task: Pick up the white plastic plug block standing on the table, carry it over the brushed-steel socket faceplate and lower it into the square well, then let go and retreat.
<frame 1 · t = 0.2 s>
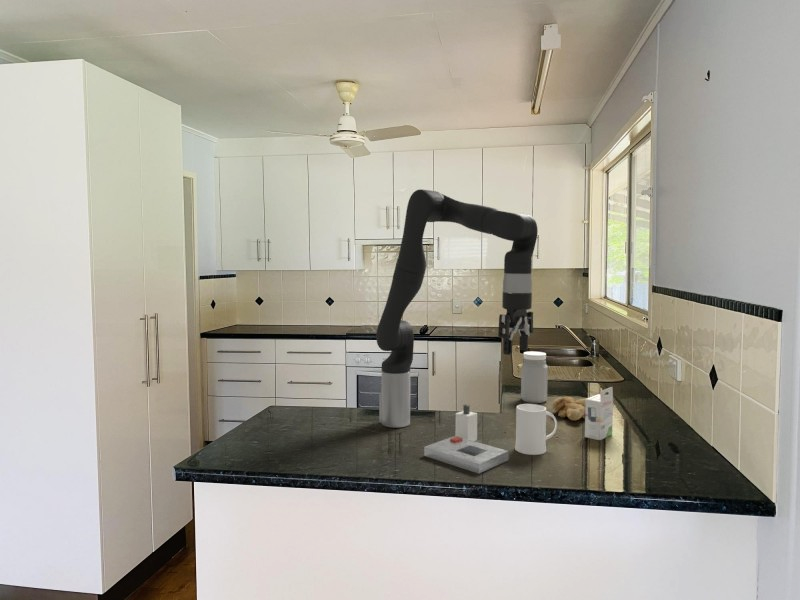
hand: (515, 352, 146), 28 cm above the counter, fingers open, 8 cm apart
mug: (536, 450, 154), on the counter
plug: (466, 440, 162), on the counter
ink box: (598, 436, 166), on the counter
ginger root: (570, 417, 187), on the counter
jar: (533, 400, 208), on the counter
socket plate: (465, 458, 147), on the counter
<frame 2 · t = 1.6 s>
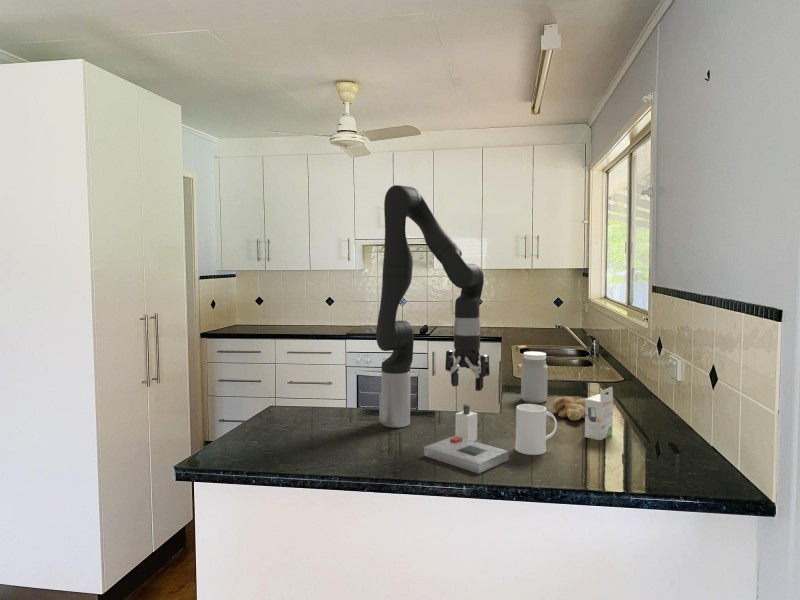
hand: (466, 388, 161), 15 cm above the counter, fingers open, 8 cm apart
nothing on the counter moved.
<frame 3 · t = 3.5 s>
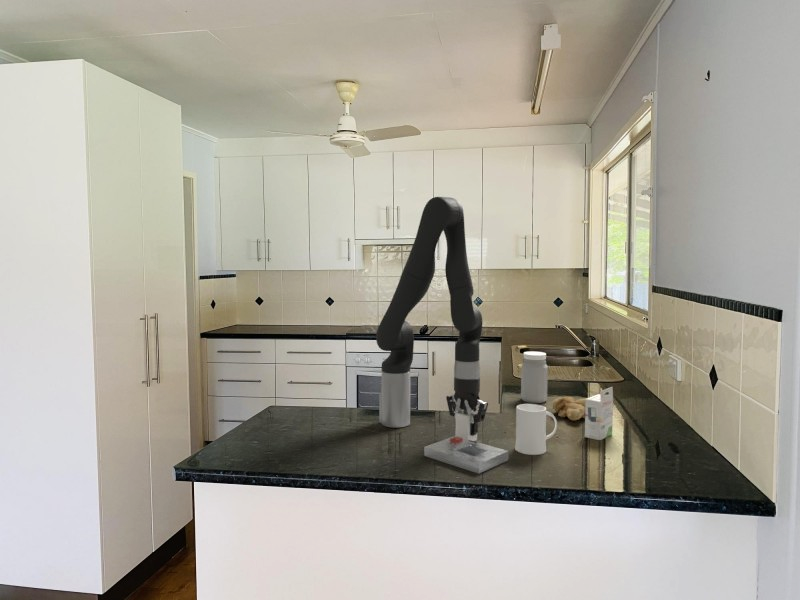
hand: (466, 432, 162), 2 cm above the counter, fingers closed on plug, 4 cm apart
plug: (466, 440, 162), on the counter, touching gripper
everything else where it was.
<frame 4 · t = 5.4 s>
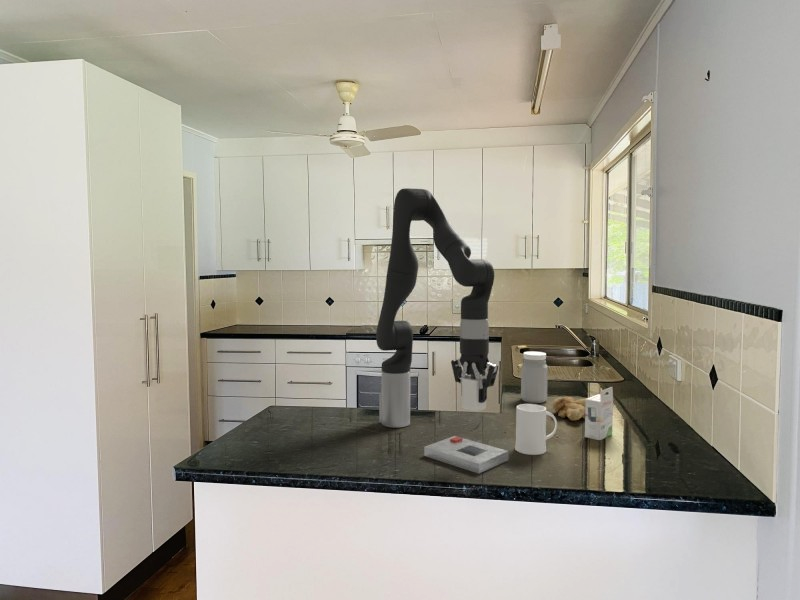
hand: (474, 400, 145), 16 cm above the counter, fingers closed on plug, 4 cm apart
plug: (474, 408, 145), point 14 cm above the counter, touching gripper
everything else where it was.
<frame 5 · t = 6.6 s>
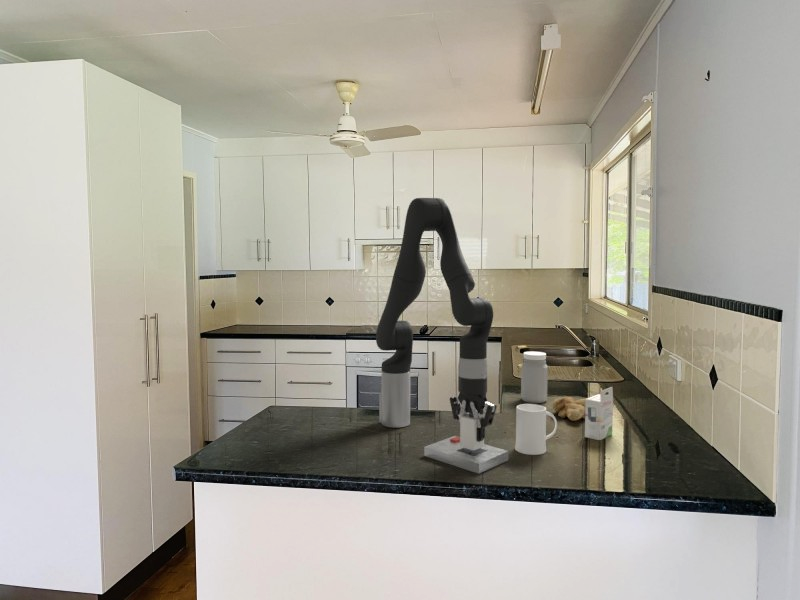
hand: (472, 438, 145), 6 cm above the counter, fingers closed on plug, 4 cm apart
plug: (472, 446, 146), point 4 cm above the counter, touching gripper
everything else where it was.
when the fingers open (3 cm above the counter, at t = 7.5 s): plug stays where it is, resting in socket plate.
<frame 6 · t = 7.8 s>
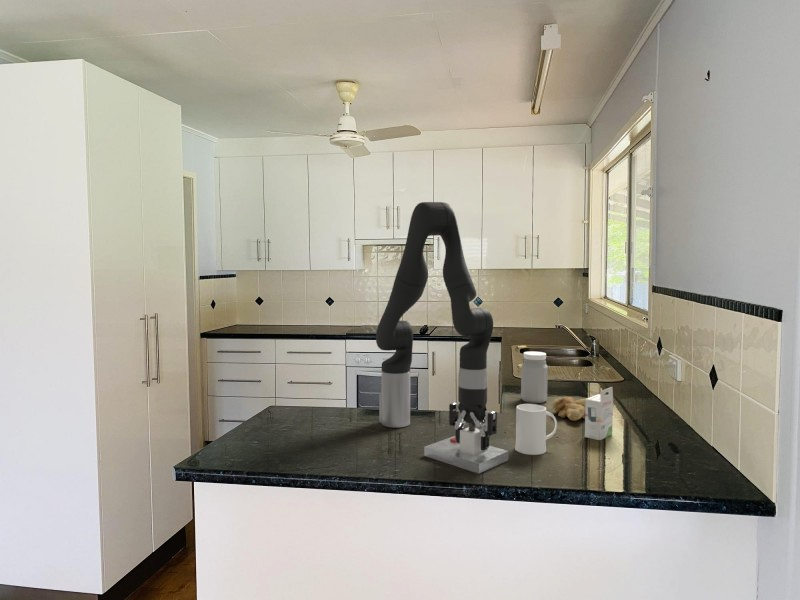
hand: (472, 446, 146), 4 cm above the counter, fingers open, 7 cm apart
plug: (471, 459, 146), resting in socket plate
everything else where it was.
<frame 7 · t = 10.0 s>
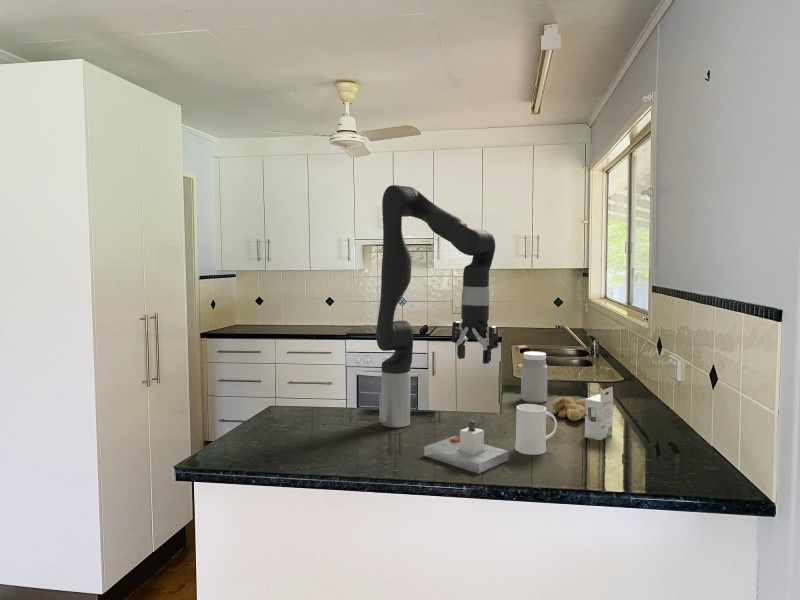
hand: (473, 361, 153), 25 cm above the counter, fingers open, 8 cm apart
nothing on the counter moved.
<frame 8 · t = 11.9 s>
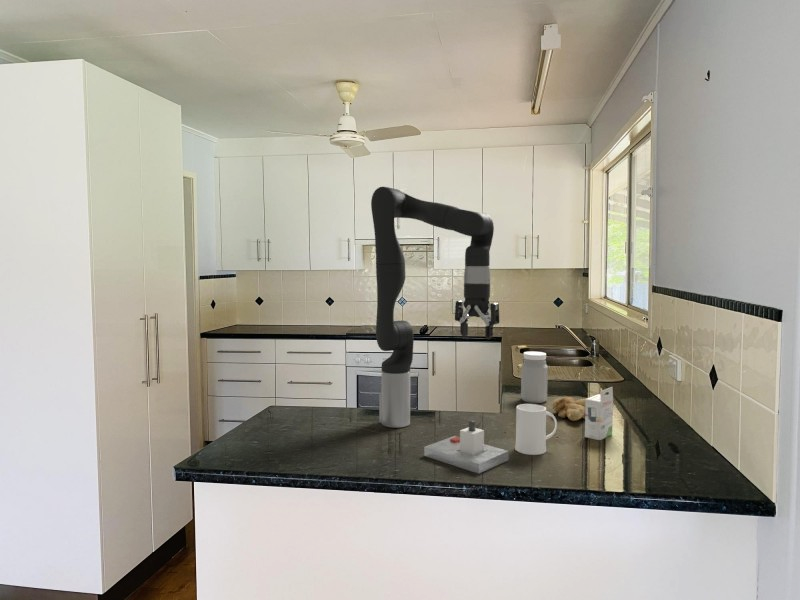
hand: (476, 337, 161), 30 cm above the counter, fingers open, 8 cm apart
nothing on the counter moved.
at the end: plug 0.1 cm from the target spot on the socket plate, point 0.0 cm above the socket plate's base; plug tilted 0°; the gripper is holding nothing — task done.
